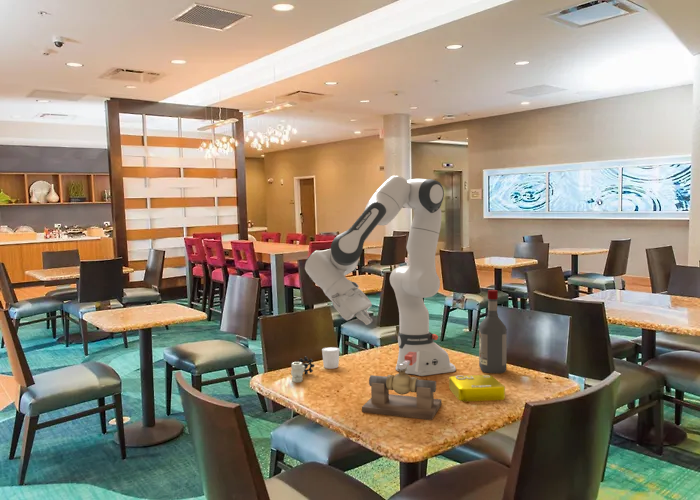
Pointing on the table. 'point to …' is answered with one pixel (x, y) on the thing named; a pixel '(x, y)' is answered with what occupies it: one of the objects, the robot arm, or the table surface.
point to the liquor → (492, 339)
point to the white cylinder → (330, 357)
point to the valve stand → (402, 397)
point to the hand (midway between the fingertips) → (369, 323)
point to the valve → (300, 369)
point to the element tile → (476, 388)
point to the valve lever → (407, 361)
